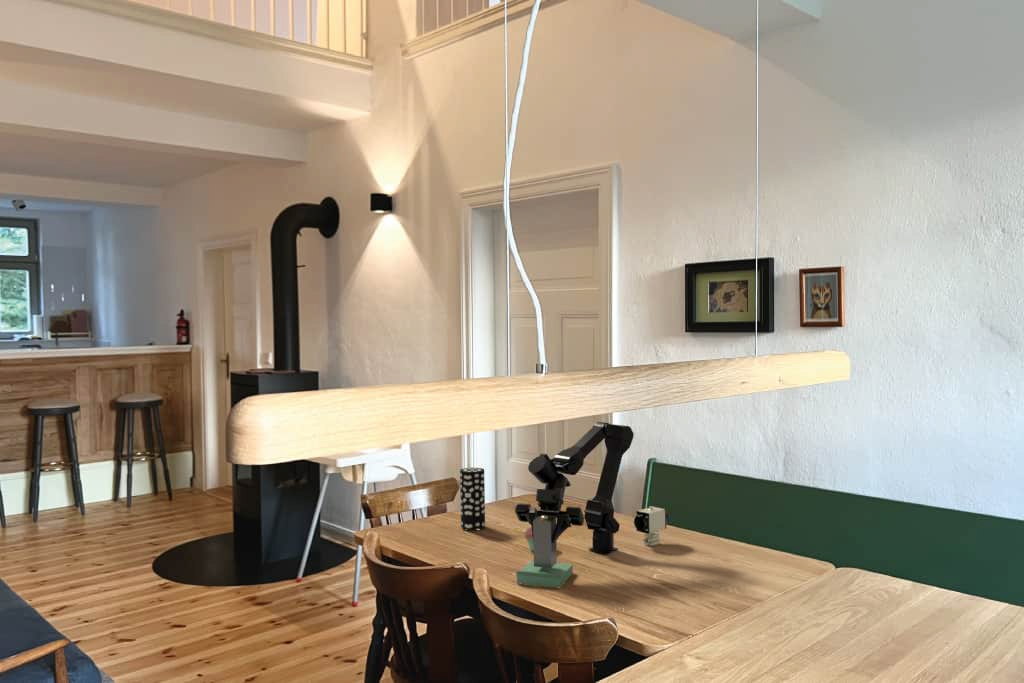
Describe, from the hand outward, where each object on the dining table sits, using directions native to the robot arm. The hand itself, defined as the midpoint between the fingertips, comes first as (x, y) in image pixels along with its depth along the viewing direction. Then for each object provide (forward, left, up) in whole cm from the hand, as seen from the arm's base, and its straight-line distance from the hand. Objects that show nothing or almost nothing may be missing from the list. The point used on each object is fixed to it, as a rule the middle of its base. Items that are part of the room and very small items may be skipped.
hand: (543, 541), depth 209 cm
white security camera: (-47, +2, -11) cm, 49 cm away
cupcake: (-20, -21, -11) cm, 31 cm away
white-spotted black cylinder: (-24, -55, -11) cm, 61 cm away
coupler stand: (-1, -1, -10) cm, 11 cm away
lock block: (-1, -1, -7) cm, 7 cm away
